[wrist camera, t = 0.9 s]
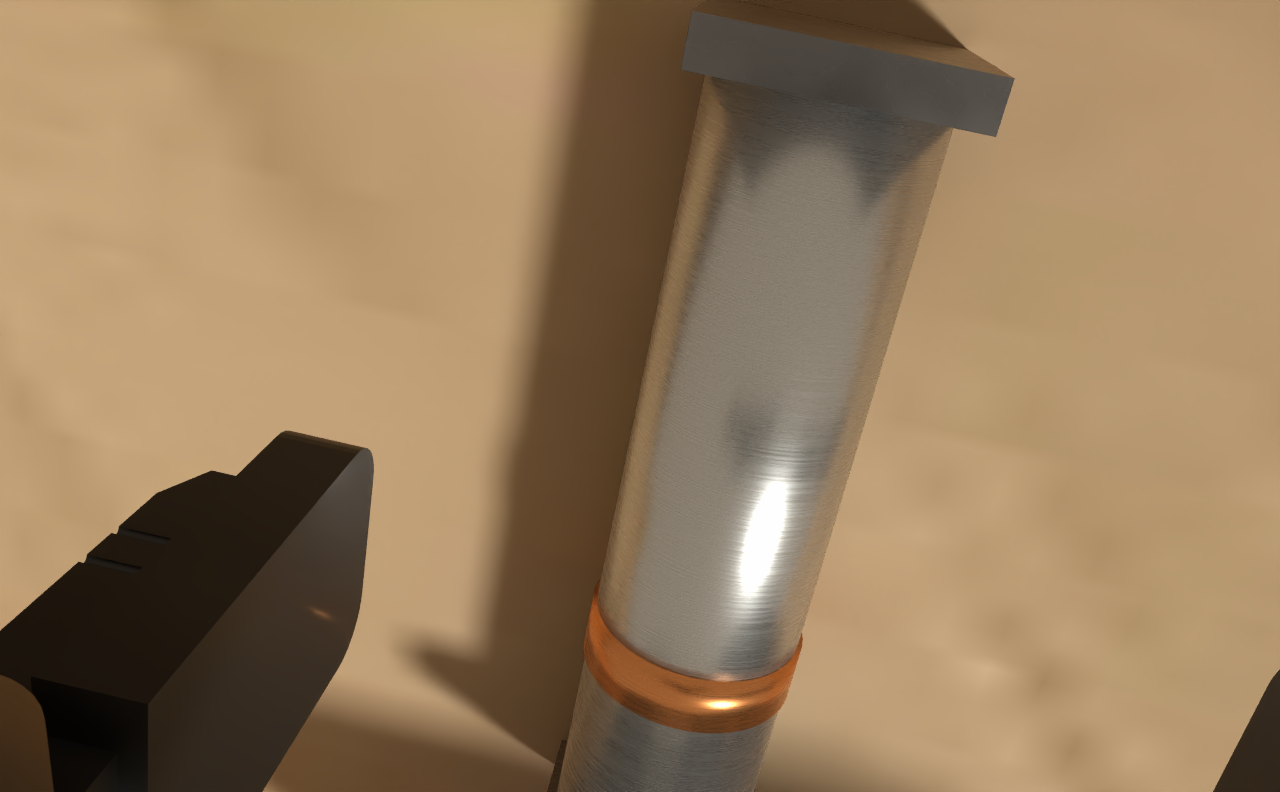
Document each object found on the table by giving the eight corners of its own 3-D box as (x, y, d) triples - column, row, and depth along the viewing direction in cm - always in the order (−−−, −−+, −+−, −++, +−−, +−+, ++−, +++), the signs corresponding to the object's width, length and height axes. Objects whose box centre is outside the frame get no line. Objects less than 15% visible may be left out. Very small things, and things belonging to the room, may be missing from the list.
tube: (966, 48, 24) (1014, 78, 19) (740, 810, 33) (730, 972, 27) (713, -5, 24) (692, 10, 19) (556, 765, 33) (513, 918, 28)
